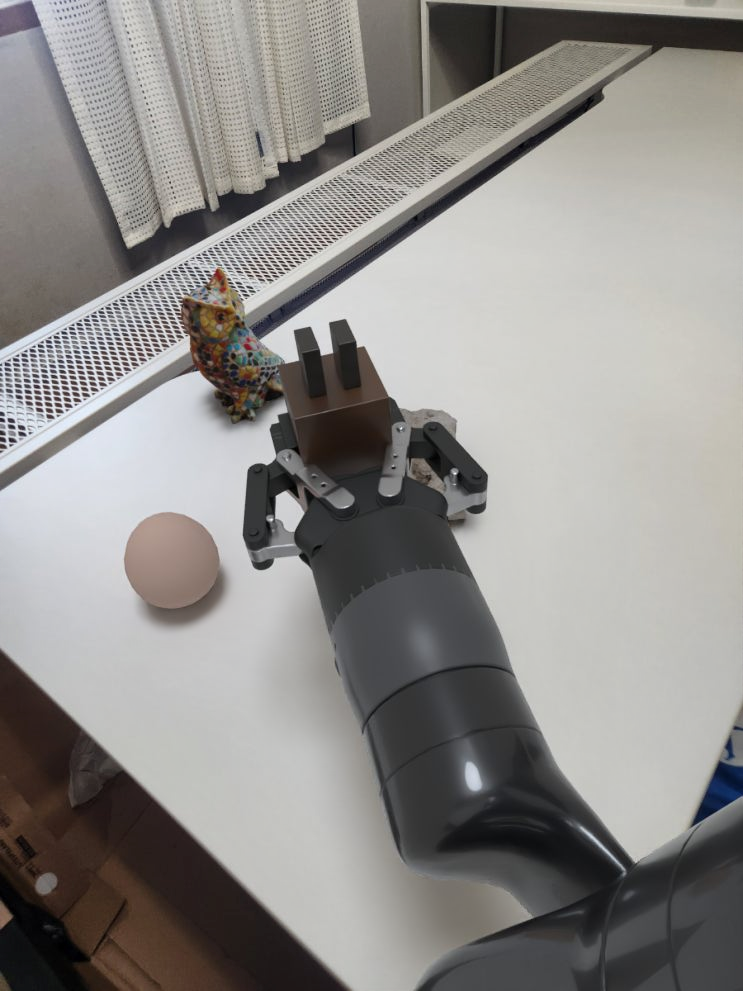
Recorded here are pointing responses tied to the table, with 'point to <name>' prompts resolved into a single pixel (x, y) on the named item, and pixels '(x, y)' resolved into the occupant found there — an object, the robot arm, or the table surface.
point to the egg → (171, 560)
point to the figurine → (229, 349)
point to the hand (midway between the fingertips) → (330, 414)
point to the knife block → (336, 403)
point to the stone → (419, 466)
